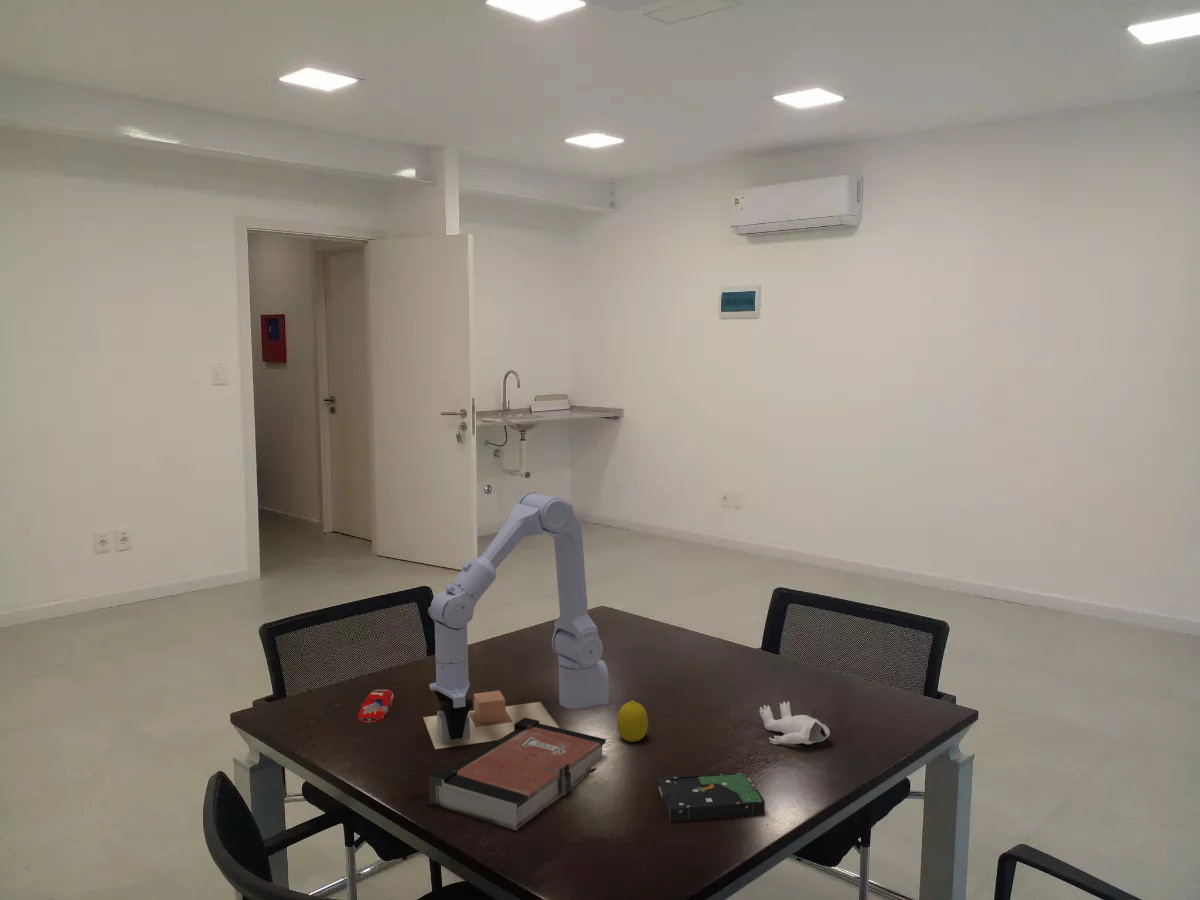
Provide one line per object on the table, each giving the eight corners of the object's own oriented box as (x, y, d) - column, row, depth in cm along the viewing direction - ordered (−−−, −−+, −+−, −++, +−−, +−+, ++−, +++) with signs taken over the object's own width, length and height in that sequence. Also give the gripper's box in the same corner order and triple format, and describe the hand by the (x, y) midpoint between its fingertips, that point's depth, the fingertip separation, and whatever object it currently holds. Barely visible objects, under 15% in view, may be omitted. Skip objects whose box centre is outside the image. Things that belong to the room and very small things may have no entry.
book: (521, 834, 134) (520, 802, 133) (429, 806, 143) (428, 775, 142) (609, 765, 156) (609, 737, 156) (525, 744, 165) (524, 717, 165)
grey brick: (464, 728, 169) (464, 707, 168) (470, 739, 164) (469, 717, 164) (437, 732, 167) (437, 711, 167) (442, 743, 162) (441, 721, 162)
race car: (382, 729, 172) (382, 708, 171) (354, 729, 172) (353, 709, 171) (398, 702, 185) (397, 683, 185) (371, 702, 185) (370, 683, 185)
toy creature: (798, 697, 175) (840, 703, 164) (803, 729, 174) (845, 738, 163) (746, 708, 169) (786, 715, 159) (750, 741, 169) (791, 751, 158)
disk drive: (670, 827, 136) (766, 818, 138) (669, 809, 136) (766, 800, 138) (656, 794, 146) (746, 786, 148) (656, 777, 146) (746, 769, 148)
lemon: (651, 739, 166) (651, 697, 165) (642, 752, 160) (642, 708, 160) (622, 735, 167) (622, 693, 167) (613, 748, 162) (612, 704, 161)
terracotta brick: (499, 710, 177) (499, 690, 176) (505, 720, 172) (505, 699, 172) (474, 713, 175) (473, 693, 175) (479, 723, 171) (479, 703, 170)
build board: (540, 706, 182) (540, 701, 181) (561, 736, 167) (561, 730, 167) (423, 722, 174) (423, 716, 174) (435, 754, 160) (435, 748, 160)
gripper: (423, 649, 170) (425, 719, 171) (435, 674, 156) (437, 751, 157) (461, 645, 172) (463, 714, 173) (476, 669, 158) (478, 745, 160)
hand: (453, 732), depth 165 cm, fingers closed on grey brick, 5 cm apart
